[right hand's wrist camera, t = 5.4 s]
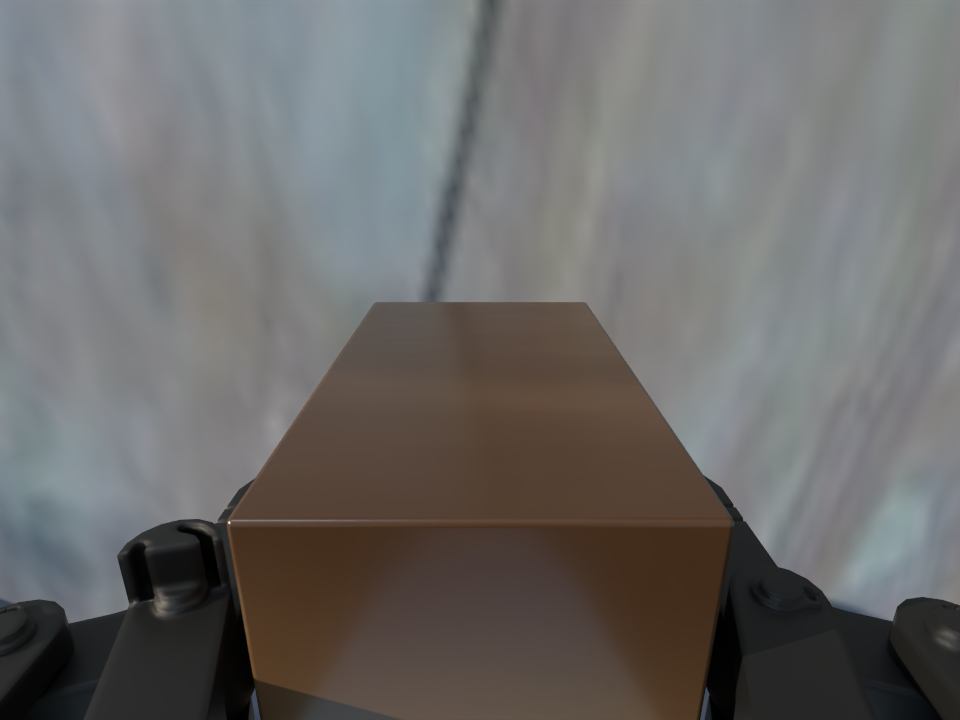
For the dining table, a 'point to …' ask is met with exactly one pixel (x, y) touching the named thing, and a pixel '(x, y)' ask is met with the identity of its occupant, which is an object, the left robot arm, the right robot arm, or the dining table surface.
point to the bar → (480, 531)
